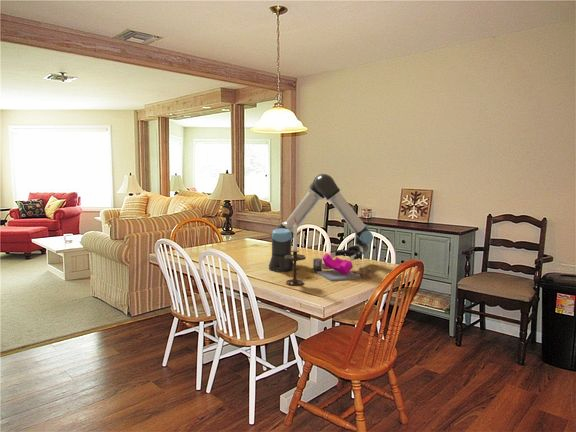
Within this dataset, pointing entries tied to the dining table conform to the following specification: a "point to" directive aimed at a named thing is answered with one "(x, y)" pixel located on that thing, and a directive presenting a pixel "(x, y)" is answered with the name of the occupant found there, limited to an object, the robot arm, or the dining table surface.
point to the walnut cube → (365, 272)
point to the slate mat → (337, 275)
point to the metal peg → (317, 264)
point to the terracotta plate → (324, 265)
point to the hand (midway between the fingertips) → (340, 257)
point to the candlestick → (294, 259)
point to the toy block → (338, 264)
